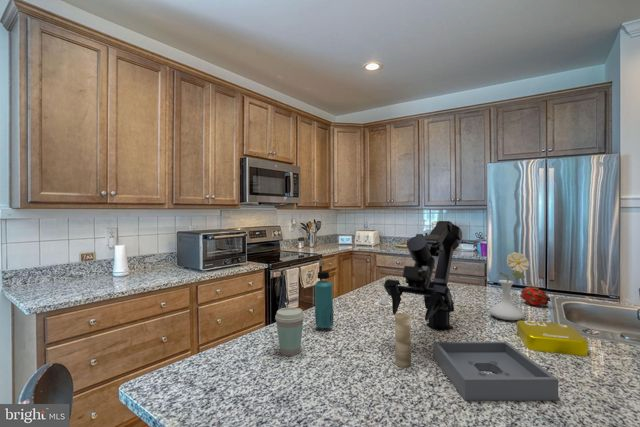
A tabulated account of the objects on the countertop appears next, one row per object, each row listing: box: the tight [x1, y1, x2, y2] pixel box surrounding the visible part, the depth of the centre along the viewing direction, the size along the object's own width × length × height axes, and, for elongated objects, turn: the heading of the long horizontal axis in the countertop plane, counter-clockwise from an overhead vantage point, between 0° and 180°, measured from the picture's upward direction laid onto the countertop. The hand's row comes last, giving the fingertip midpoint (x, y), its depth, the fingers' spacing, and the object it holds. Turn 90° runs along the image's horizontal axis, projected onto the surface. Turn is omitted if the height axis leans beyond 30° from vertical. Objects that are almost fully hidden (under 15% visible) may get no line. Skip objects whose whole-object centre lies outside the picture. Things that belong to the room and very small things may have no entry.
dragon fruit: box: [519, 285, 552, 308], centre depth 137 cm, size 8×8×12 cm
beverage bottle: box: [314, 270, 334, 329], centre depth 113 cm, size 6×7×20 cm
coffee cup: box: [274, 306, 305, 357], centre depth 95 cm, size 8×8×12 cm
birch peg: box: [394, 312, 412, 368], centre depth 87 cm, size 4×4×13 cm
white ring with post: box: [374, 294, 392, 308], centre depth 142 cm, size 9×8×4 cm
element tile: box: [516, 319, 589, 357], centre depth 99 cm, size 15×15×5 cm
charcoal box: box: [433, 341, 559, 401], centre depth 80 cm, size 20×20×4 cm
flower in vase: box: [489, 251, 530, 321], centre depth 122 cm, size 13×11×25 cm
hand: (409, 317), depth 91 cm, fingers open, 9 cm apart
